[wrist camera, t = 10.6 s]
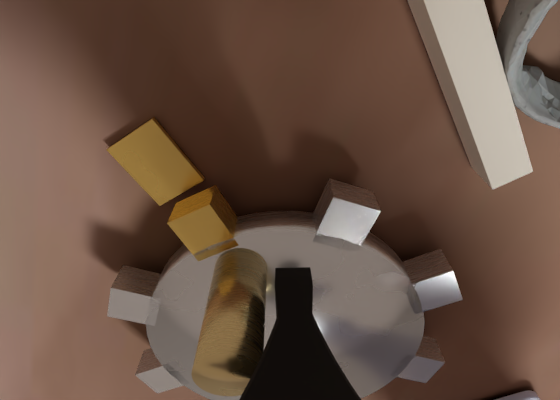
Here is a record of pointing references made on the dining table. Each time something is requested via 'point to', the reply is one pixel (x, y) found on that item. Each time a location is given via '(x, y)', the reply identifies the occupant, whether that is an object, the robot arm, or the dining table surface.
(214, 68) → the dining table surface
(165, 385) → the sprocket
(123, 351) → the dining table surface
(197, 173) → the yellow wooden brick
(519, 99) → the ceramic mug
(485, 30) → the bay
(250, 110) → the dining table surface
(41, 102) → the dining table surface
